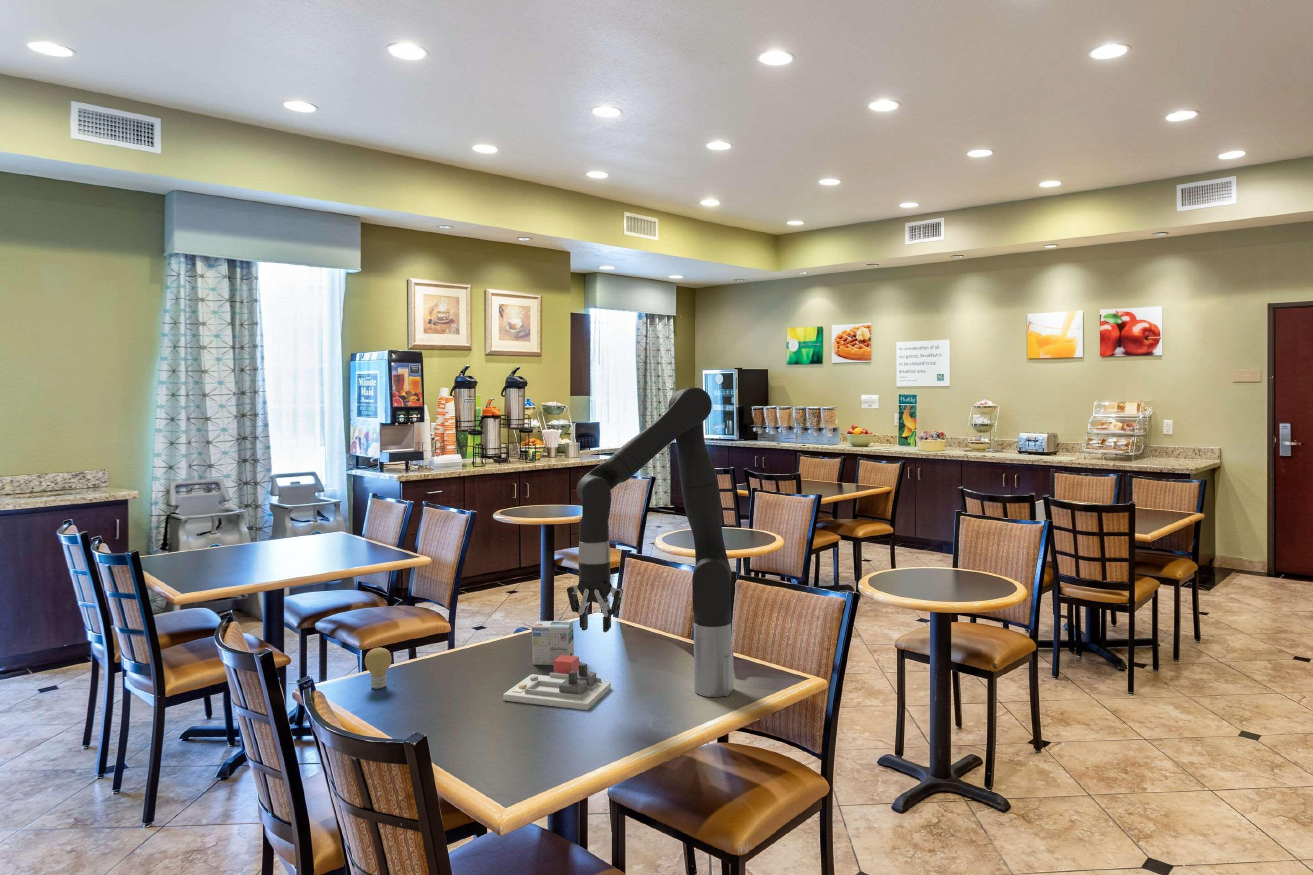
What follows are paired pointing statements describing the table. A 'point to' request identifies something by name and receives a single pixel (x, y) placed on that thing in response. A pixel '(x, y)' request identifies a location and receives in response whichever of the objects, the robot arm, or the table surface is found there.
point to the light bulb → (378, 666)
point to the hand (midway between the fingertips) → (595, 630)
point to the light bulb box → (551, 641)
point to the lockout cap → (566, 664)
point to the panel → (547, 690)
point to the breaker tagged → (573, 684)
